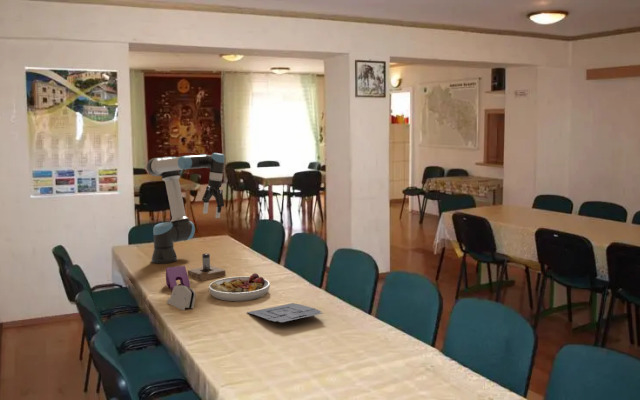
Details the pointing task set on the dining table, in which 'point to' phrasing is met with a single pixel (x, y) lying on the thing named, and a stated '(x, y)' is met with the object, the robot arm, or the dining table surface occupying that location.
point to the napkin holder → (182, 297)
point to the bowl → (239, 288)
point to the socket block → (206, 273)
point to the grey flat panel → (286, 312)
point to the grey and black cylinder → (206, 262)
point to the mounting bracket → (177, 276)
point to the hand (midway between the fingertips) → (211, 215)
